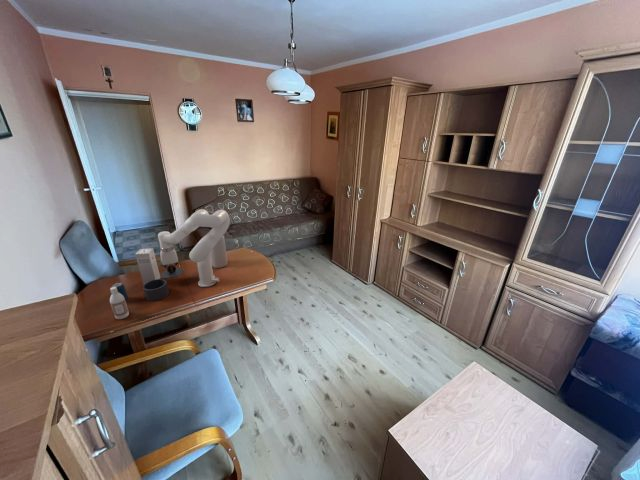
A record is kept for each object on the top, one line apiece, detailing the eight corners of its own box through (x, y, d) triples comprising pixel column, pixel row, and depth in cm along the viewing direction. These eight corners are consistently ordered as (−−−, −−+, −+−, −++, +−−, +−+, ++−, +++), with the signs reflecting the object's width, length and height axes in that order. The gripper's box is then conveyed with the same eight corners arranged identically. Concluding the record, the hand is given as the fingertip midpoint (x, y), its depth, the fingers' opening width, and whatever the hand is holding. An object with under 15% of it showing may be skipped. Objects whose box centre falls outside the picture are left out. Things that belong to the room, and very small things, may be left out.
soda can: (126, 295, 178) (121, 280, 174) (129, 299, 174) (124, 284, 170) (113, 300, 174) (108, 284, 169) (117, 304, 169) (112, 288, 165)
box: (160, 278, 200) (153, 248, 190) (156, 284, 192) (148, 253, 183) (148, 279, 198) (140, 249, 189) (143, 285, 191) (135, 254, 181)
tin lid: (187, 268, 199) (185, 260, 196) (177, 279, 185) (176, 270, 183) (167, 268, 199) (165, 260, 196) (156, 278, 185) (154, 269, 182)
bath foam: (115, 321, 155) (105, 292, 147) (115, 314, 160) (106, 286, 153) (129, 317, 159) (120, 289, 151) (129, 310, 164) (120, 283, 156)
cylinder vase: (209, 264, 222) (205, 236, 212) (223, 259, 229) (220, 233, 220) (215, 269, 213) (211, 241, 203) (230, 265, 221) (226, 237, 211)
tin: (172, 289, 186) (170, 279, 183) (162, 301, 174) (159, 290, 171) (153, 289, 186) (150, 278, 183) (141, 300, 174) (138, 290, 170)
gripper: (179, 244, 191) (183, 266, 198) (153, 249, 183) (159, 272, 190) (180, 248, 185) (185, 271, 192) (153, 253, 177) (159, 276, 184)
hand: (172, 271), depth 191 cm, fingers closed on tin lid, 2 cm apart
